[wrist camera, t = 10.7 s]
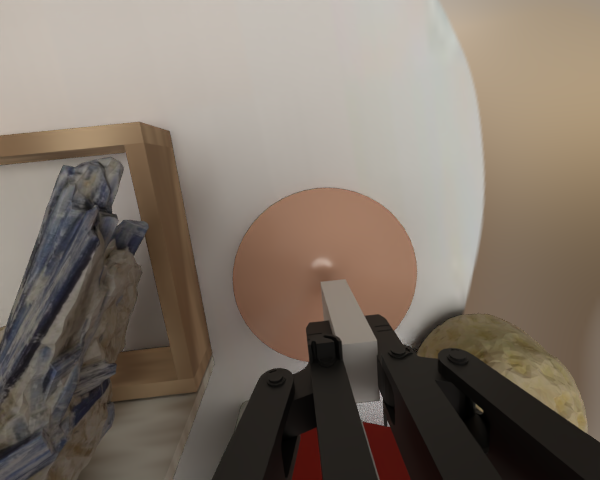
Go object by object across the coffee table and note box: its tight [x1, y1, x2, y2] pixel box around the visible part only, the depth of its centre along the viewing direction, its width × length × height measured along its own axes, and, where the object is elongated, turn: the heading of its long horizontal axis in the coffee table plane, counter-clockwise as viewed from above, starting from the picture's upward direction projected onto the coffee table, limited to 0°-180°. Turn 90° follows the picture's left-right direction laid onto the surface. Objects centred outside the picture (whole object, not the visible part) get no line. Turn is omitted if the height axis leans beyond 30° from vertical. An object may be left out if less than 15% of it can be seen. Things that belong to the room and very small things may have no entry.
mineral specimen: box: [0, 157, 149, 480], centre depth 12 cm, size 15×8×4 cm
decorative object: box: [417, 314, 588, 433], centre depth 20 cm, size 9×10×10 cm
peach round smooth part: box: [233, 188, 417, 362], centre depth 21 cm, size 13×13×1 cm
